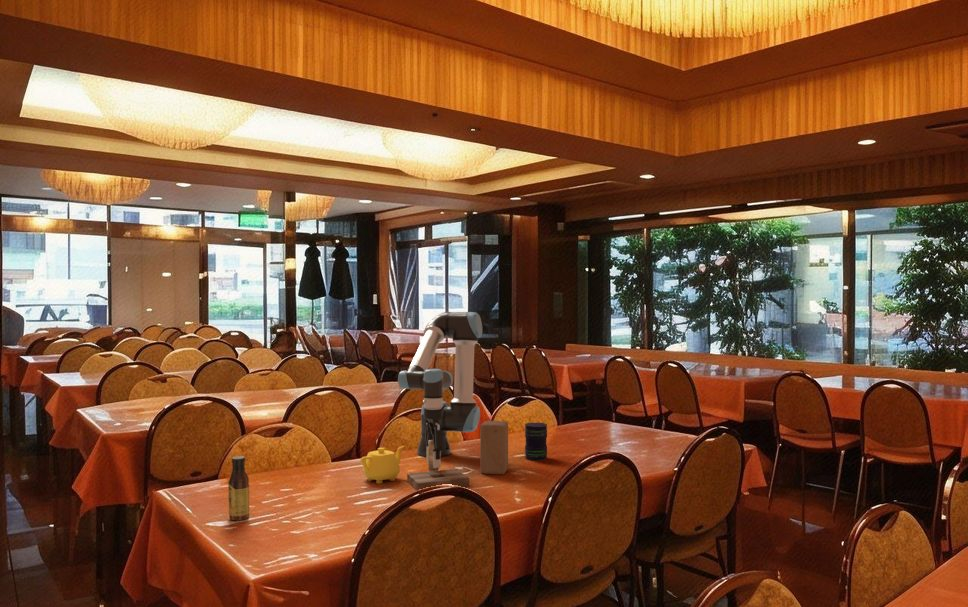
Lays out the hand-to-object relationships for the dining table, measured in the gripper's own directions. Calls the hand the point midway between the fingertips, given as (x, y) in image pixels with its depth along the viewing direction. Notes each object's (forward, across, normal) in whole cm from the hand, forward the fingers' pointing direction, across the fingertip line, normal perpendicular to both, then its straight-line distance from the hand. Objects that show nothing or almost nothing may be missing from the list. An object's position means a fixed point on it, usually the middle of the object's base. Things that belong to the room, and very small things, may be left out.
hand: (433, 464), depth 275 cm
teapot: (+5, -2, -20) cm, 21 cm away
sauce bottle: (+5, +28, -74) cm, 79 cm away
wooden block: (+5, +3, +25) cm, 26 cm away
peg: (+4, 0, 0) cm, 4 cm away
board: (+4, +12, -2) cm, 13 cm away
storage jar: (+5, -12, +51) cm, 53 cm away
